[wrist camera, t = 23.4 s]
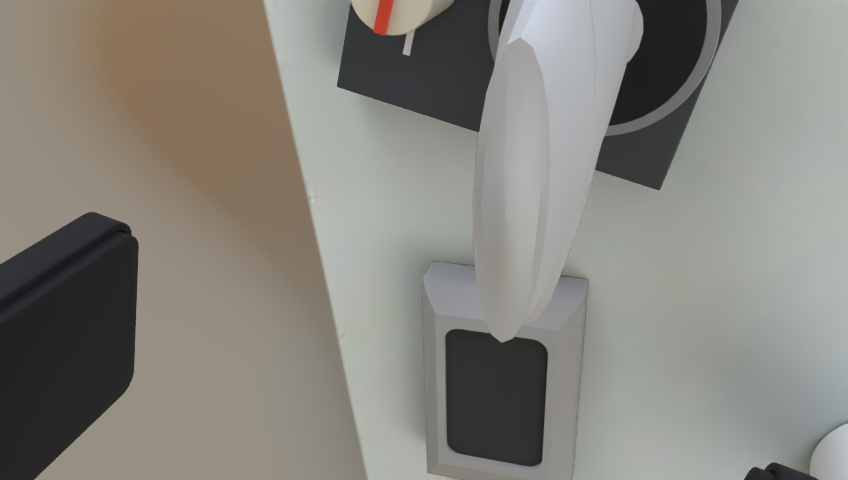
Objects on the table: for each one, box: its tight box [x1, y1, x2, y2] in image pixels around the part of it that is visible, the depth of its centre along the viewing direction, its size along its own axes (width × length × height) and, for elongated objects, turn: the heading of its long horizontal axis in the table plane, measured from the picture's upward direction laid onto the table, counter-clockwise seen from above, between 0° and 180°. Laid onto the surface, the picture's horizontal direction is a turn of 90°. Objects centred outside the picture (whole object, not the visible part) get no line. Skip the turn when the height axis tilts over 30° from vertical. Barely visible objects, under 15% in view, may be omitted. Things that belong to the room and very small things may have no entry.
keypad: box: [422, 261, 589, 480], centre depth 48 cm, size 10×4×15 cm
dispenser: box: [473, 0, 643, 343], centre depth 27 cm, size 11×4×22 cm, turn 0°
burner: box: [488, 0, 721, 136], centre depth 37 cm, size 11×11×1 cm
